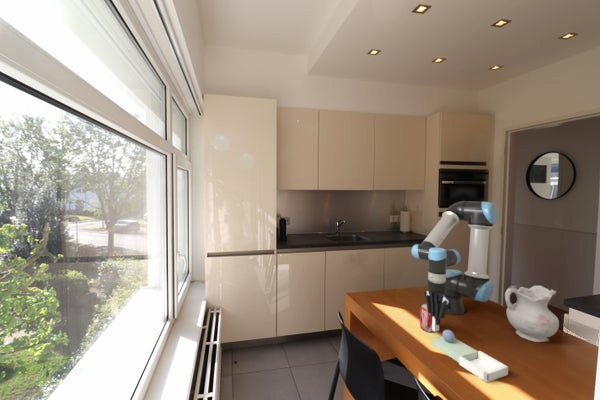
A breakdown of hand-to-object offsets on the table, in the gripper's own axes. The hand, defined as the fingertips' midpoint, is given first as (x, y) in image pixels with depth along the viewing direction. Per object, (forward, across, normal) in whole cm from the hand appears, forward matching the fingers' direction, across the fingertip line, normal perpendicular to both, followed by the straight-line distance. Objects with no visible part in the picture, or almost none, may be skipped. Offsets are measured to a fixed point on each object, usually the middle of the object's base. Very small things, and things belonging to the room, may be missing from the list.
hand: (435, 330), depth 129 cm
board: (+5, +10, 0) cm, 11 cm away
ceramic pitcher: (+5, +14, +46) cm, 48 cm away
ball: (-1, +7, 0) cm, 7 cm away
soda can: (+5, -9, +4) cm, 11 cm away
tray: (+5, +23, 0) cm, 23 cm away
